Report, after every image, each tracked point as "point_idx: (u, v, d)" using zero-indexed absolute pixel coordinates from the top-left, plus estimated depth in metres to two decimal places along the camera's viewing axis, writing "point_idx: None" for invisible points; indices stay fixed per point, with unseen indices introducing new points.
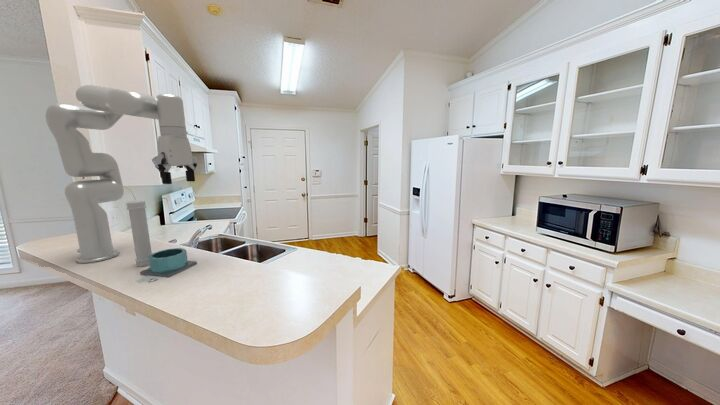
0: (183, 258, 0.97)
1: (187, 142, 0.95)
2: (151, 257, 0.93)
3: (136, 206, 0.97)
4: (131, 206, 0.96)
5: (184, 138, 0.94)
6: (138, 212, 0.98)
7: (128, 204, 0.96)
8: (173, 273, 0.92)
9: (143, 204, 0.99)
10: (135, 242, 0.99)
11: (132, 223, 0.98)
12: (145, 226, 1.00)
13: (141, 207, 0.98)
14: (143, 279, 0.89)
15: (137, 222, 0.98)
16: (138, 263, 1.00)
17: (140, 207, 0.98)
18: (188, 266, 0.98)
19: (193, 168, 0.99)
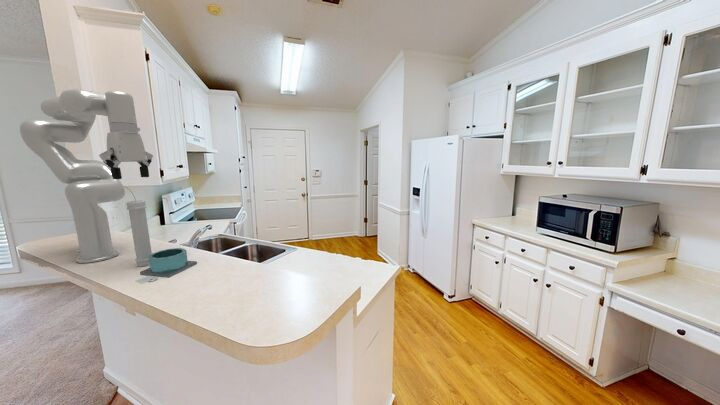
0: (183, 258, 0.97)
1: (139, 138, 0.97)
2: (151, 257, 0.93)
3: (136, 206, 0.97)
4: (131, 206, 0.96)
5: (135, 134, 0.96)
6: (138, 212, 0.98)
7: (128, 204, 0.96)
8: (173, 273, 0.92)
9: (143, 204, 0.99)
10: (135, 242, 0.99)
11: (132, 223, 0.98)
12: (145, 226, 1.00)
13: (141, 207, 0.98)
14: (143, 279, 0.89)
15: (137, 222, 0.98)
16: (138, 263, 1.00)
17: (140, 207, 0.98)
18: (188, 266, 0.98)
19: (147, 164, 1.01)
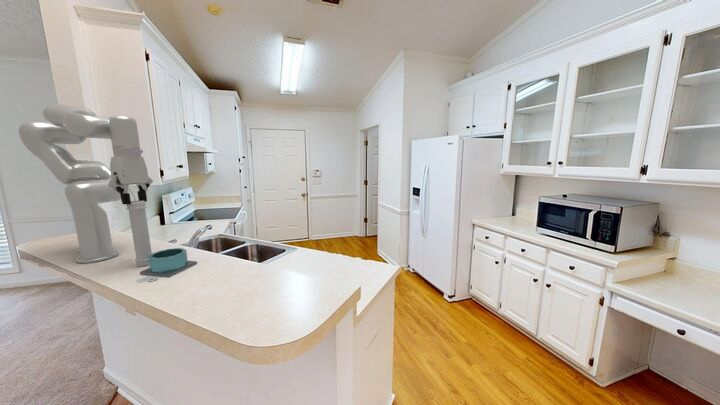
0: (183, 258, 0.97)
1: (142, 161, 0.99)
2: (151, 257, 0.93)
3: (136, 206, 0.97)
4: (130, 206, 0.96)
5: (138, 157, 0.97)
6: (138, 212, 0.98)
7: None
8: (173, 273, 0.92)
9: (143, 204, 0.99)
10: (135, 242, 0.99)
11: (132, 223, 0.98)
12: (145, 226, 1.00)
13: (141, 207, 0.98)
14: (143, 279, 0.89)
15: (136, 222, 0.98)
16: (138, 263, 1.00)
17: (140, 207, 0.98)
18: (188, 266, 0.98)
19: (145, 189, 1.01)
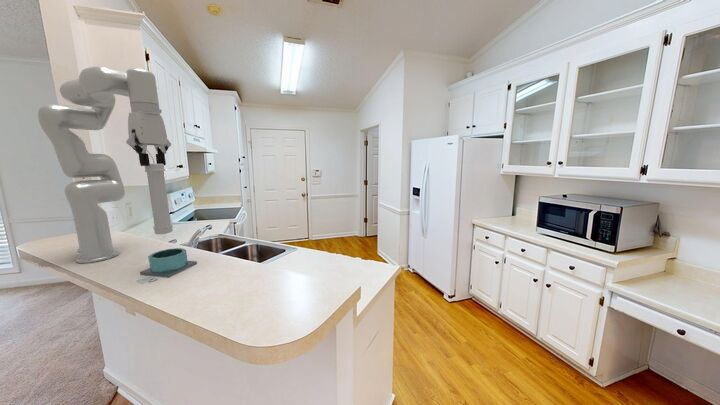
0: (183, 258, 0.97)
1: (161, 120, 0.92)
2: (151, 257, 0.93)
3: (155, 168, 0.90)
4: (149, 168, 0.89)
5: (157, 116, 0.90)
6: (157, 175, 0.91)
7: (146, 166, 0.89)
8: (173, 273, 0.92)
9: (162, 167, 0.92)
10: (153, 208, 0.92)
11: (150, 187, 0.91)
12: (164, 191, 0.93)
13: (160, 170, 0.91)
14: (143, 279, 0.89)
15: (155, 185, 0.91)
16: (157, 230, 0.93)
17: (159, 169, 0.91)
18: (188, 266, 0.98)
19: (164, 151, 0.94)
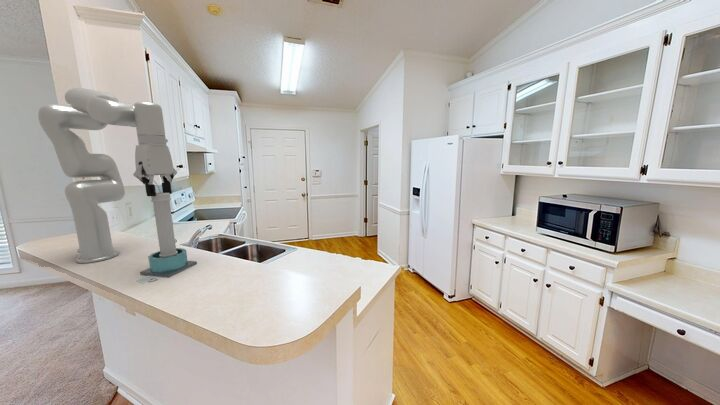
0: (183, 258, 0.97)
1: (167, 150, 0.93)
2: (151, 257, 0.93)
3: (161, 198, 0.91)
4: (155, 198, 0.91)
5: (163, 146, 0.92)
6: (163, 204, 0.92)
7: (153, 196, 0.91)
8: (173, 273, 0.92)
9: (168, 196, 0.93)
10: (159, 236, 0.93)
11: (157, 216, 0.92)
12: (170, 219, 0.94)
13: (166, 199, 0.92)
14: (143, 279, 0.89)
15: (161, 215, 0.92)
16: None
17: (165, 199, 0.92)
18: (188, 266, 0.98)
19: (169, 180, 0.95)
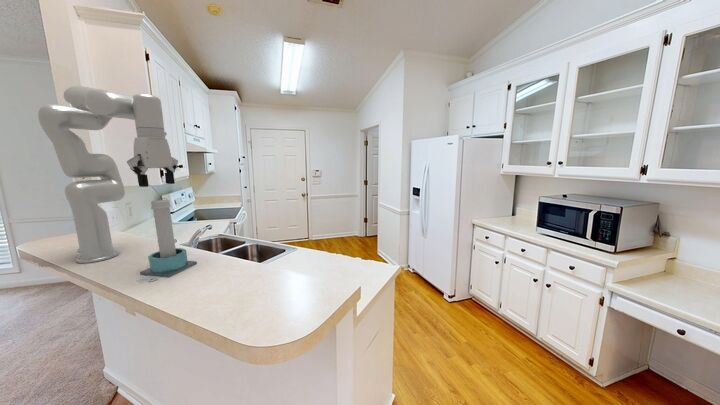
0: (183, 258, 0.97)
1: (166, 143, 0.93)
2: (151, 257, 0.93)
3: (161, 205, 0.92)
4: (155, 205, 0.91)
5: (162, 139, 0.91)
6: (163, 212, 0.92)
7: (153, 203, 0.91)
8: (173, 273, 0.92)
9: (168, 203, 0.94)
10: (160, 243, 0.94)
11: (157, 223, 0.92)
12: (170, 226, 0.95)
13: (166, 206, 0.93)
14: (143, 279, 0.90)
15: (162, 222, 0.93)
16: None
17: (165, 206, 0.92)
18: (188, 266, 0.98)
19: (173, 170, 0.97)
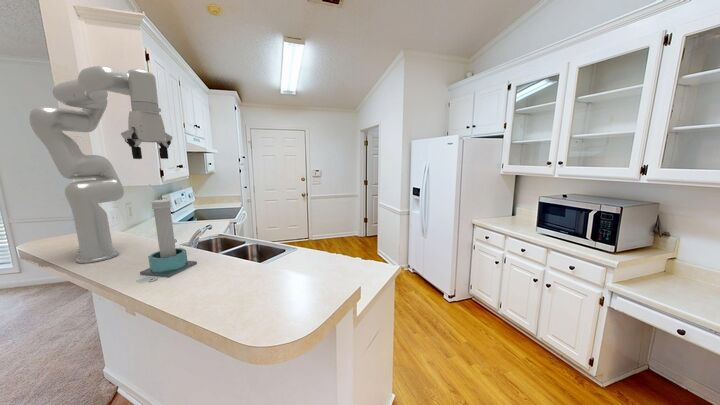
0: (183, 258, 0.97)
1: (160, 119, 0.96)
2: (151, 257, 0.93)
3: (162, 205, 0.92)
4: (156, 205, 0.91)
5: (156, 114, 0.95)
6: (163, 212, 0.93)
7: (153, 203, 0.91)
8: (173, 273, 0.92)
9: (168, 203, 0.94)
10: (160, 243, 0.94)
11: (157, 223, 0.93)
12: (170, 226, 0.95)
13: (167, 206, 0.93)
14: (144, 279, 0.90)
15: (162, 222, 0.93)
16: None
17: (166, 206, 0.93)
18: (188, 266, 0.98)
19: (166, 145, 1.00)
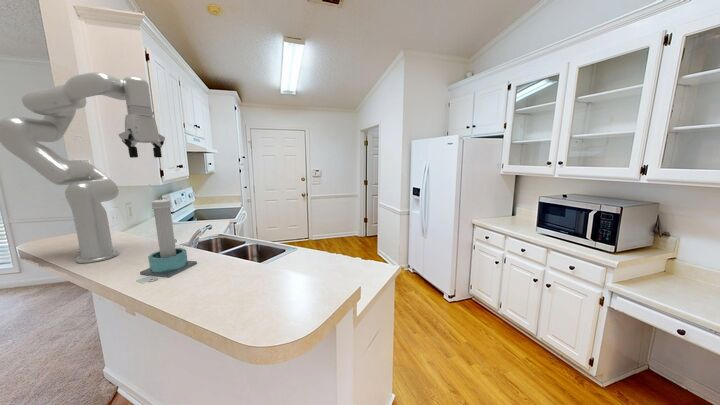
0: (183, 258, 0.97)
1: (153, 121, 1.07)
2: (151, 257, 0.93)
3: (162, 205, 0.92)
4: (156, 205, 0.91)
5: (150, 117, 1.05)
6: (164, 212, 0.93)
7: (153, 203, 0.91)
8: (173, 273, 0.92)
9: (169, 203, 0.94)
10: (160, 243, 0.94)
11: (157, 223, 0.93)
12: (170, 226, 0.95)
13: (167, 206, 0.93)
14: (144, 279, 0.90)
15: (162, 222, 0.93)
16: None
17: (166, 206, 0.93)
18: (188, 266, 0.98)
19: (160, 145, 1.11)
